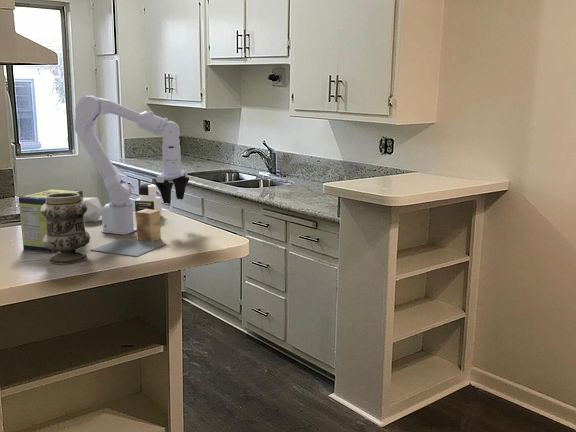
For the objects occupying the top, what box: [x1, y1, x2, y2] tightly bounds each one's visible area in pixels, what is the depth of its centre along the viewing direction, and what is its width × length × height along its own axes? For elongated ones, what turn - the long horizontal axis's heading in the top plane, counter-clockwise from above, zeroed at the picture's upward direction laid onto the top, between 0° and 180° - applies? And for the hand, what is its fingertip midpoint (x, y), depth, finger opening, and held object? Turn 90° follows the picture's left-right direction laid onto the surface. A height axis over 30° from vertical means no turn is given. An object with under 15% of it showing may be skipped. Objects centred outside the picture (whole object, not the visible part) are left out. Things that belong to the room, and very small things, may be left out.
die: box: [83, 197, 103, 223], centre depth 207 cm, size 8×9×10 cm
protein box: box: [18, 188, 86, 253], centre depth 176 cm, size 10×16×16 cm
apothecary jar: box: [41, 192, 91, 265], centre depth 161 cm, size 12×12×18 cm
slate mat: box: [90, 237, 167, 258], centre depth 174 cm, size 16×14×1 cm
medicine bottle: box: [134, 183, 163, 218], centre depth 211 cm, size 7×7×12 cm
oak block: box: [135, 209, 162, 242], centre depth 182 cm, size 5×5×9 cm
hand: (173, 201), depth 194 cm, fingers open, 7 cm apart
